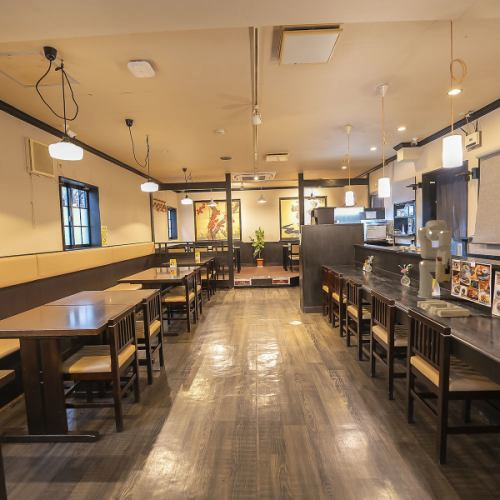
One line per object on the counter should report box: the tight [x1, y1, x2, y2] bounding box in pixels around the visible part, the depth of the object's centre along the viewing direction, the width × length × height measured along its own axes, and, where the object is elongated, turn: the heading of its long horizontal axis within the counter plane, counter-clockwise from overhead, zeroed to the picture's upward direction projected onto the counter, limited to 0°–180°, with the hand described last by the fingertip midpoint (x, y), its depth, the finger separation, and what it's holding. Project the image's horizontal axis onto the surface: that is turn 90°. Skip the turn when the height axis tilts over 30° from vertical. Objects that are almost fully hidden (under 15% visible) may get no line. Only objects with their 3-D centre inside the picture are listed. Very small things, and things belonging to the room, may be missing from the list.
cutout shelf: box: [416, 300, 470, 318], centre depth 219 cm, size 26×20×4 cm
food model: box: [435, 255, 453, 284], centre depth 216 cm, size 10×7×20 cm
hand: (443, 273), depth 216 cm, fingers closed on food model, 7 cm apart
